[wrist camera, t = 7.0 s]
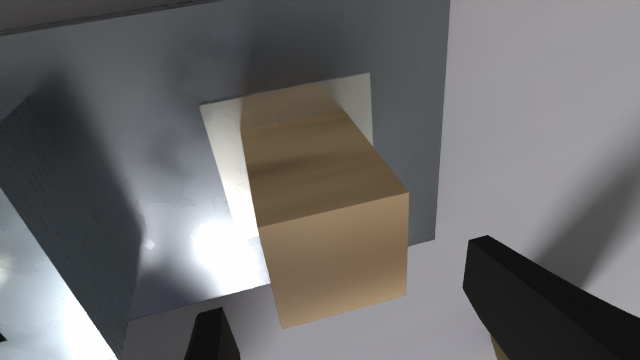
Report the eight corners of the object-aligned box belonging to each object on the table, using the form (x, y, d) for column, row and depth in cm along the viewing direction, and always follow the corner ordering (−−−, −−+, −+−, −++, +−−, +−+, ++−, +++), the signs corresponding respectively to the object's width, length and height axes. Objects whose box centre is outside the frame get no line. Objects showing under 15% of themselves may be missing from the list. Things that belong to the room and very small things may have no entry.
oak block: (350, 195, 19) (406, 295, 14) (259, 216, 19) (282, 329, 13) (344, 110, 17) (409, 192, 12) (239, 130, 16) (257, 227, 11)
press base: (424, 226, 24) (473, 291, 19) (-52, 350, 20) (-122, 464, 16) (437, -38, 16) (522, -28, 12) (-336, 84, 12) (-627, 166, 8)
